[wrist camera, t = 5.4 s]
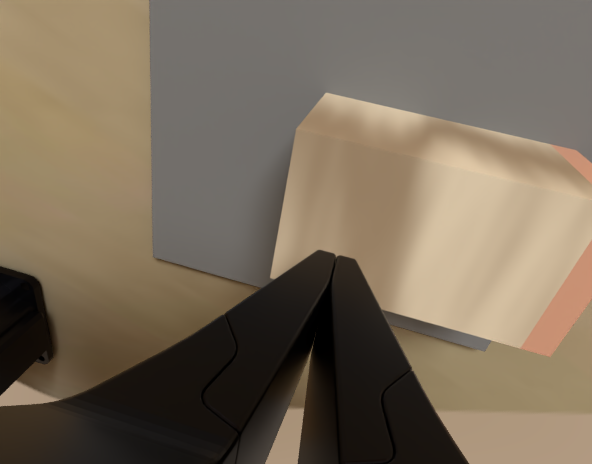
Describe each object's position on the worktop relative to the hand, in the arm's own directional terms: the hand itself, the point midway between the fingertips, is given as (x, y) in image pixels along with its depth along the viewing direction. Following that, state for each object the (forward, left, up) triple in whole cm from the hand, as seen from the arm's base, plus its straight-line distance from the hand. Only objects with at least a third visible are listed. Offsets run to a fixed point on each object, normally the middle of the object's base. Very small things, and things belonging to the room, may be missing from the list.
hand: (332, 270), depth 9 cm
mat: (0, 0, -7) cm, 7 cm away
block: (-2, 0, -4) cm, 5 cm away
